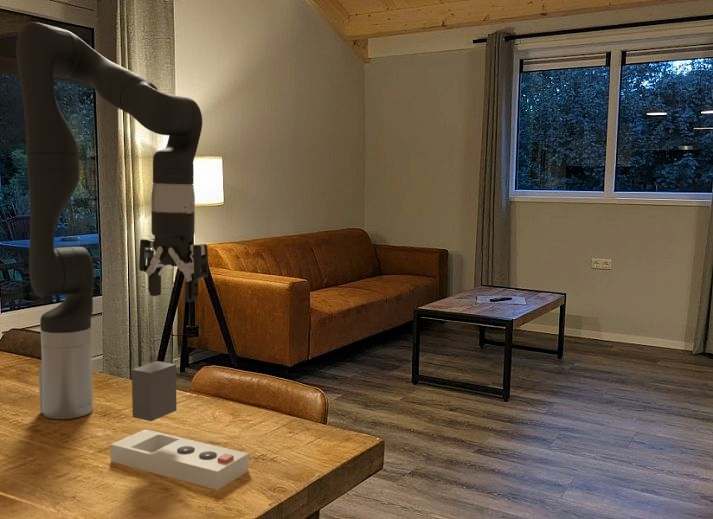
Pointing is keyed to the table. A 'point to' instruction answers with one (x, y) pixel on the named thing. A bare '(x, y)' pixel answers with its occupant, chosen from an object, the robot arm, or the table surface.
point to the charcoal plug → (154, 390)
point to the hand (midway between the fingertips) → (173, 298)
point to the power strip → (180, 458)
